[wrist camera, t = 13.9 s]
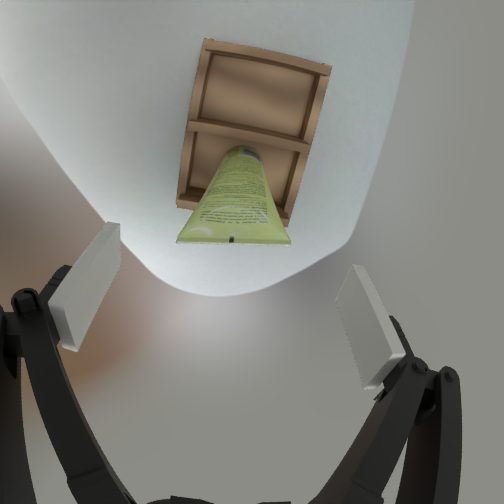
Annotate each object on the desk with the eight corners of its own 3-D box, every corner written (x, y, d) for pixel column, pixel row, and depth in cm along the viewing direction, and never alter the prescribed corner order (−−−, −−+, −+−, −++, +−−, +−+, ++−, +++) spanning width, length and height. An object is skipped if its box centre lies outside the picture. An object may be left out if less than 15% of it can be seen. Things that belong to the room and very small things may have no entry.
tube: (236, 193, 37) (226, 291, 21) (209, 164, 35) (173, 243, 19) (271, 166, 36) (292, 246, 19) (244, 135, 33) (240, 187, 17)
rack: (209, 44, 28) (201, 35, 23) (322, 68, 30) (337, 64, 25) (182, 191, 39) (172, 210, 33) (284, 210, 40) (290, 232, 35)
